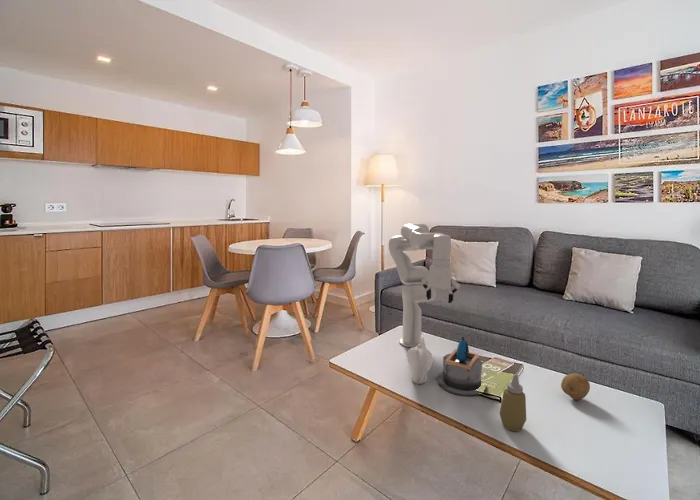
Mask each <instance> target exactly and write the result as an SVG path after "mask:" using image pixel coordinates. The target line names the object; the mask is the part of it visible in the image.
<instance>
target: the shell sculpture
mask: <svg viewBox="0 0 700 500" xmlns="http://www.w3.org/2000/svg"><path fill="white" fill-rule="evenodd" d="M424 338H425V337H421V340H420V342H421V344H420V343H419V344H418V345H417V346H416V347H414V348H412V347H409V349H408V350H407V354H406V358H407V364H408V365H409V367H410V368H411V370H412V373H411V376H410V377H411V378H410V379H411V381H412V382H414V383H415V384H417V385H421V384H424V383H425V382H427V374H428V371H430V370H431V368H432V365H433V360H434V358H433V354H432V352H431V351H430V350H429V349H428V348H427V345H426V342H425V339H424Z"/></svg>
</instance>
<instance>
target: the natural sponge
mask: <svg viewBox="0 0 700 500" xmlns="http://www.w3.org/2000/svg"><path fill="white" fill-rule="evenodd" d="M560 387H561V390H562V391H563V393H564V394H566V395H567V396H569V397H570V398H571V399H573V400H575V401H580V400H583V399H584V398H585V397H586V396H587V395H588V393H589V392H590V390H591V383H590V382H589V380H588V379H587V378H586V377H585V376H584V375H583V374H580V373H576V372H575V373H574V372H573V373H569V374H566V375H564V377H563V378H562V380H561V383H560Z"/></svg>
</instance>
